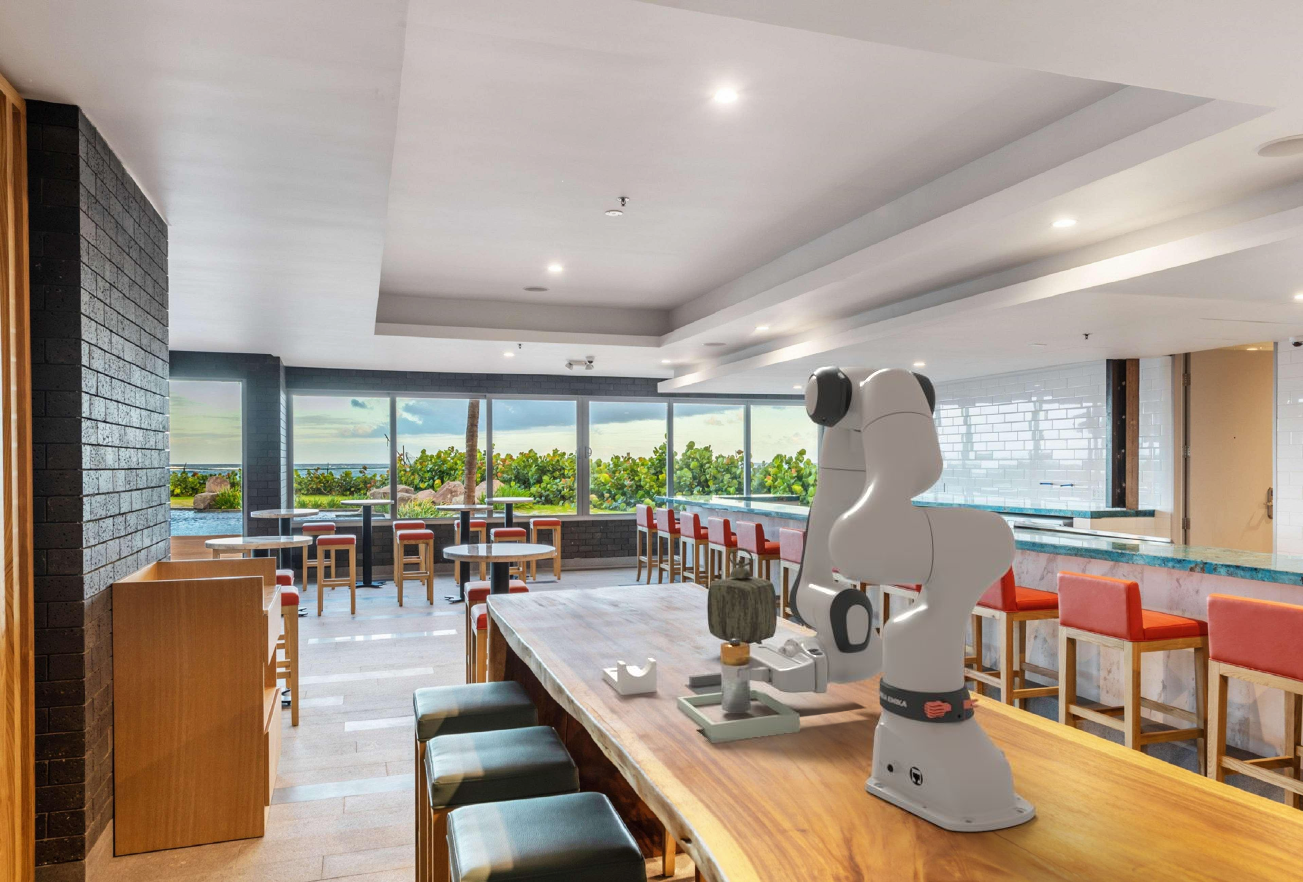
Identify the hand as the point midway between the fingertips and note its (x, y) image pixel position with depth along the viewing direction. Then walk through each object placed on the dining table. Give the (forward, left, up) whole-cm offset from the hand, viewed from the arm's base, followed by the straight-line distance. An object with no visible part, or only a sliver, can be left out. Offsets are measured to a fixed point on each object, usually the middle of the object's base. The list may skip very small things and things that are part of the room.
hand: (730, 670), depth 142 cm
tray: (0, -1, -9) cm, 9 cm away
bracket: (+25, +11, -10) cm, 29 cm away
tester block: (+15, -4, -9) cm, 18 cm away
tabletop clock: (+43, -22, -9) cm, 49 cm away
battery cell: (0, -1, -7) cm, 7 cm away
